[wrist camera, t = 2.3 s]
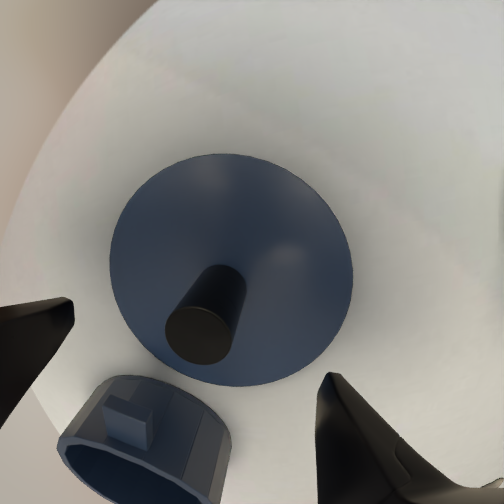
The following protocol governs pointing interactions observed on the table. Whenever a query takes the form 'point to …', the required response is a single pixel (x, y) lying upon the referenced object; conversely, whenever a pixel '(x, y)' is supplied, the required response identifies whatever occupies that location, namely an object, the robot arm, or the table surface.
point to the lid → (231, 270)
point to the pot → (147, 444)
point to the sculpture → (494, 484)
